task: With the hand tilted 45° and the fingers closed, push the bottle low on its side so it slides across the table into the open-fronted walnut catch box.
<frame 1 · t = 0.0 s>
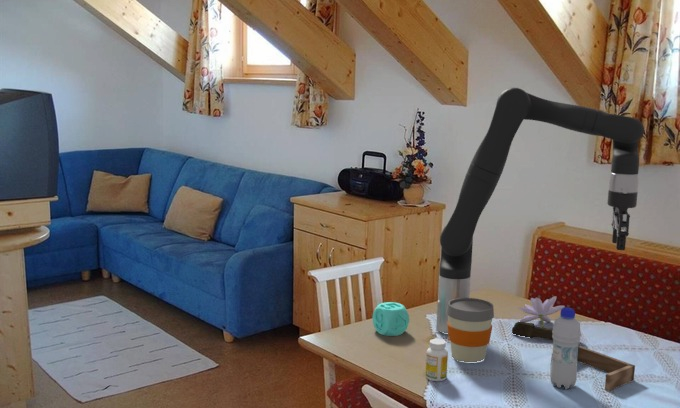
hand: (618, 246, 196), 29 cm above the table, tool pointing down, fingers open, 8 cm apart
water lily: (539, 325, 218), on the table
bottle: (562, 385, 174), on the table
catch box: (591, 374, 181), on the table
supplement bottle: (436, 378, 177), on the table
reusable coffee cup: (468, 357, 191), on the table
decorative dice: (390, 332, 210), on the table
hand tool: (544, 341, 205), on the table
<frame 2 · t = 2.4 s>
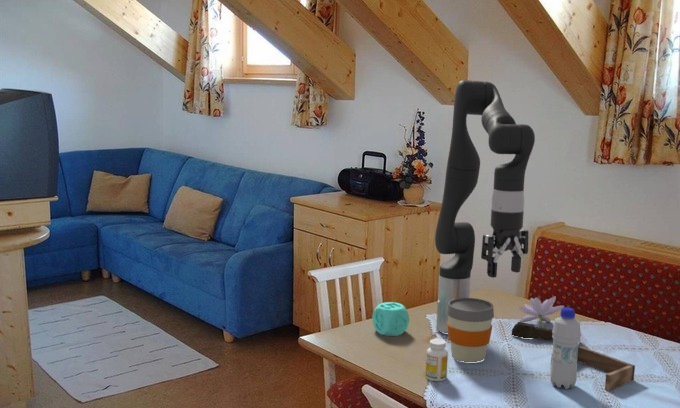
hand: (503, 274, 169), 28 cm above the table, tool pointing down, fingers open, 8 cm apart
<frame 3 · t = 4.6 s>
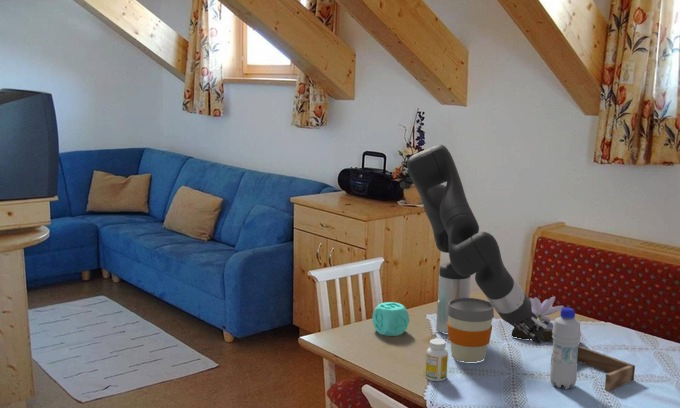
hand: (539, 340, 165), 14 cm above the table, tool tilted 45°, fingers closed
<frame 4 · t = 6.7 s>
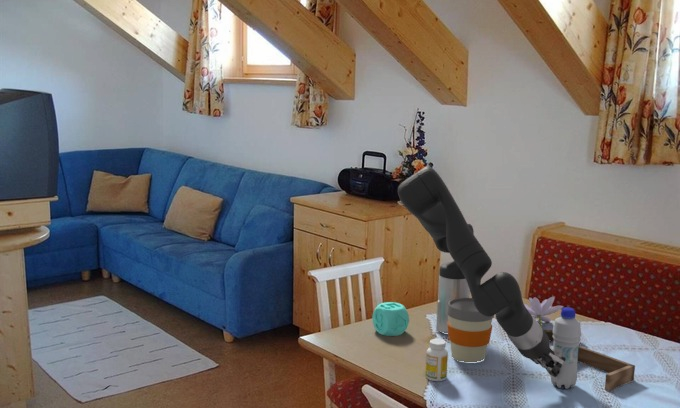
hand: (555, 373, 171), 4 cm above the table, tool tilted 45°, fingers closed
bottle: (562, 385, 174), on the table, touching gripper
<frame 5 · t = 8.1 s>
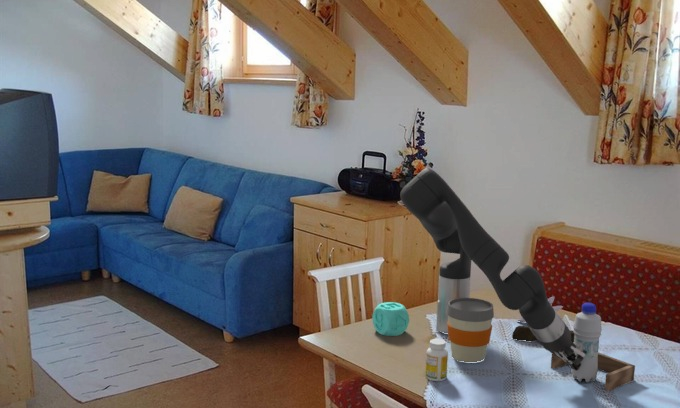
hand: (576, 366, 175), 4 cm above the table, tool tilted 45°, fingers closed
bottle: (583, 379, 178), on the table, touching gripper
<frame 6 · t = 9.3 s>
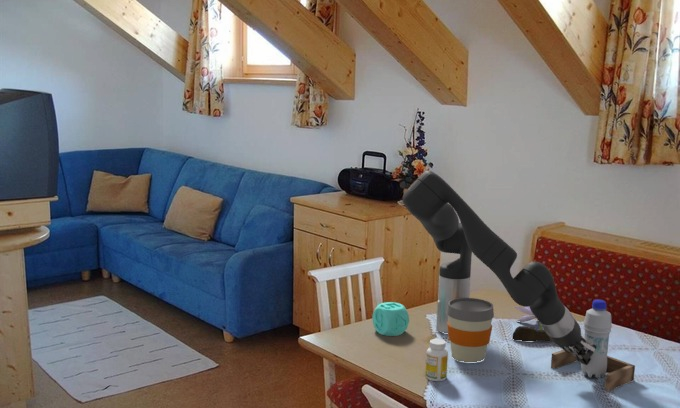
hand: (586, 361, 178), 4 cm above the table, tool tilted 45°, fingers closed
bottle: (592, 375, 180), on the table, touching gripper
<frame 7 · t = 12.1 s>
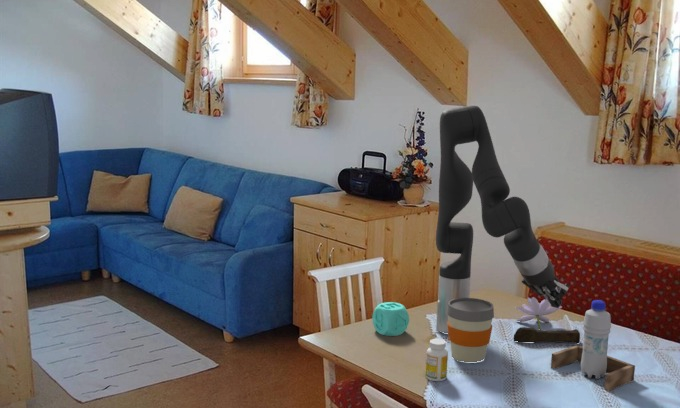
hand: (557, 304, 175), 19 cm above the table, tool tilted 40°, fingers closed
bottle: (592, 375, 180), on the table
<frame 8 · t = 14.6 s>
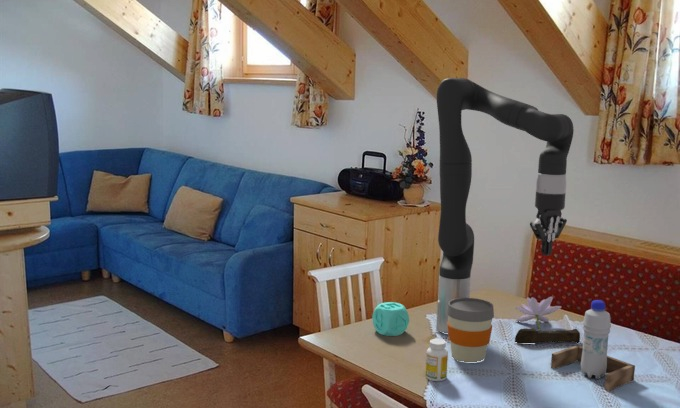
hand: (546, 254, 186), 29 cm above the table, tool pointing down, fingers closed
at the end: bottle 0.6 cm from the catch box (horizontally); bottle tilted 0°; bottle moved 11.8 cm from its start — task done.
